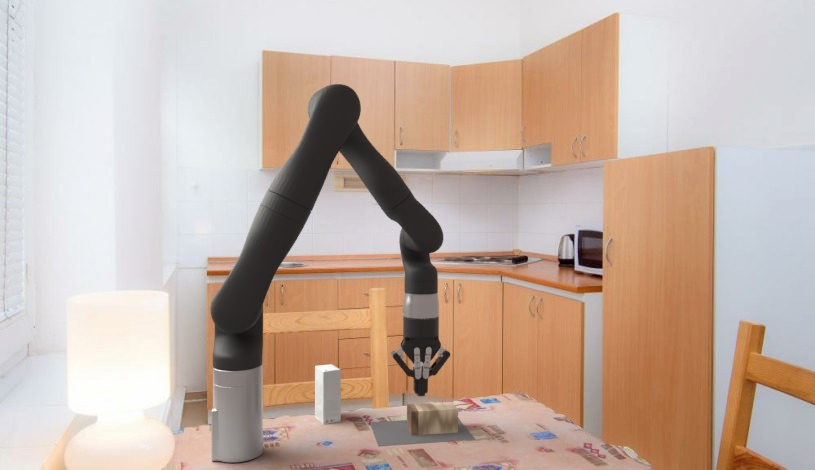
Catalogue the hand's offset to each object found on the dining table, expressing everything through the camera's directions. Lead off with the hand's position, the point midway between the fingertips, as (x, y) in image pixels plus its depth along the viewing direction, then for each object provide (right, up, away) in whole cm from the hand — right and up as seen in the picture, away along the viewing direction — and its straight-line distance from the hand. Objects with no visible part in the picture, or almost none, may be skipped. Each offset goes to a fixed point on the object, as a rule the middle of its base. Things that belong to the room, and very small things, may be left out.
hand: (420, 395), depth 129 cm
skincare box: (-21, -8, +8) cm, 23 cm away
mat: (0, -8, 0) cm, 8 cm away
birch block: (-2, -5, 0) cm, 6 cm away
